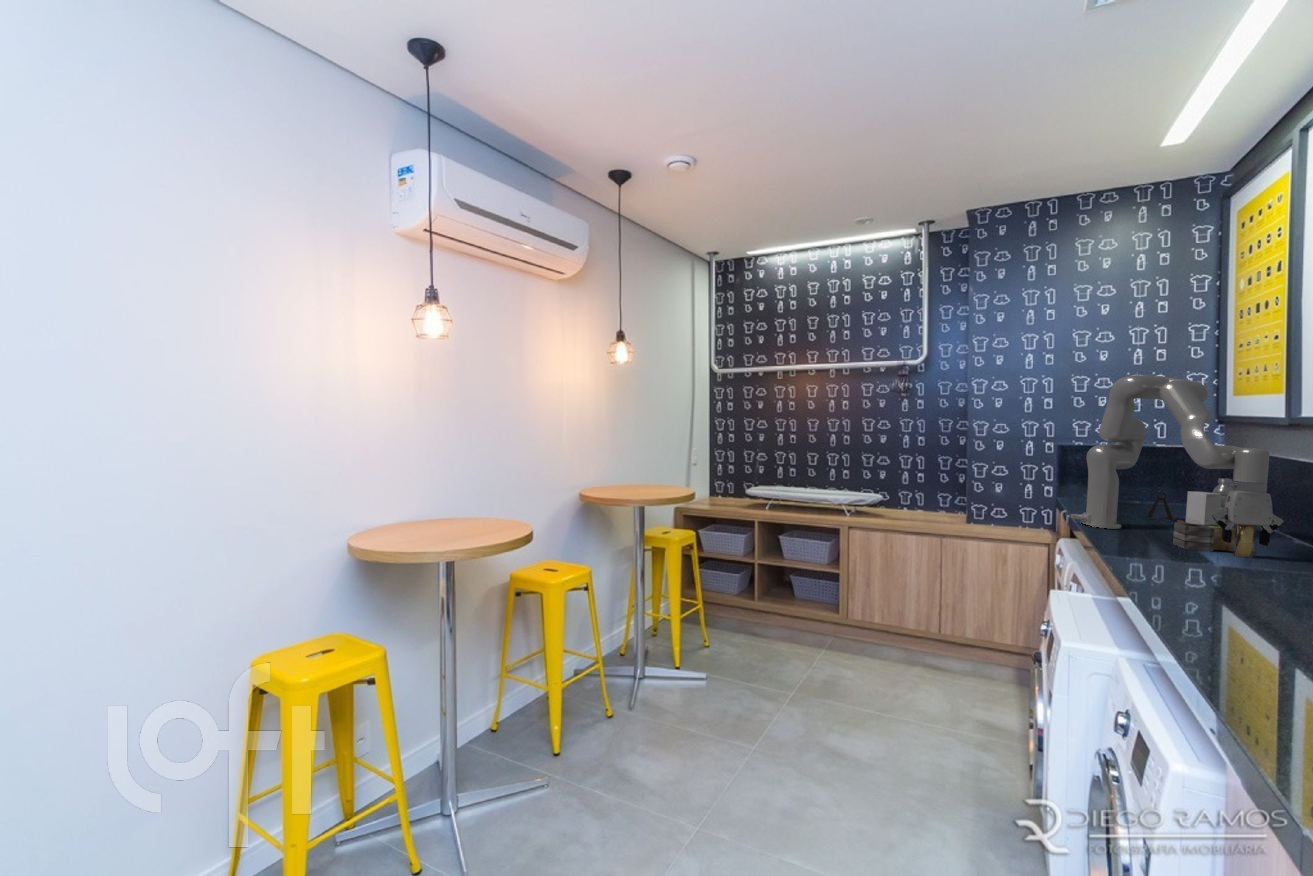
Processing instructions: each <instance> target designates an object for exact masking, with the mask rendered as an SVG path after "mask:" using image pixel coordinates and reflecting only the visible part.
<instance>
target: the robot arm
mask: <svg viewBox="0 0 1313 876" xmlns="http://www.w3.org/2000/svg"><path fill="white" fill-rule="evenodd" d="M1207 398H1208V389H1207V388H1206V386H1205V385H1204V384H1203V383H1201V382H1200V381H1197V380H1196V381H1195V380H1189V379H1182V378H1175V377H1168V376H1158V375H1149V374H1148V375H1146V374H1134V375H1133V374H1132V375H1127V376H1123V377H1120V378H1119V379H1117V380H1116V381H1115V382H1114V383H1113V384H1112V386H1111V387H1110V390H1109V394H1108V399H1107V404H1106V407H1105V410H1104V413H1103V417H1102V420H1101V423H1100V427H1099V431H1098V435H1099V437H1100V438H1101V439H1102V440H1103V441H1106V442H1109V443H1110V442H1111V443H1112V444H1111V443H1110V444H1108V443H1107V444H1106V443H1103V444H1097V445H1094V446H1092V447H1091V448H1090V449H1089V450H1088V451H1087V453H1086V463H1087V465H1086V466H1087V471H1088V473H1087V474H1088V477H1087V493H1086V494H1087V495H1086V512H1083V513H1080V514H1078V513H1071V514H1070V518H1071V519H1072V520H1080V523H1081V522H1082V523H1083V524H1086V525H1090V526H1092V527H1091V528H1096V527H1099V528H1098V529H1104V528H1107V530H1120V529H1122V524H1119V523H1117V517H1118V504H1119V502H1118V501H1119V491H1120V487H1119V486H1120V479H1119V475H1118V472H1117V471H1116V470H1127V469H1131V468H1132V467H1134V466H1135V464H1136V463H1137V462H1138V459H1139V457H1140V454H1141V451H1142V448H1143V444H1144V442H1145V439H1146V436H1147V428H1146V425H1145V423H1144V422H1143V421H1142V420H1141V419H1139V418H1136V417H1133V416H1134V414H1135V411H1136V403H1135V399H1136V400H1138V399H1139V400H1140V399H1141V400H1159V401H1162V403H1163V404H1164V405H1165V406H1166V408H1167V409H1168V410H1169V412H1170V413H1171V415H1172V416H1173V417H1174V419H1175V420H1176V422H1177V423H1178V425H1179V426H1180V439H1181V440H1180V441H1181V444H1182V446H1183V448H1184V450H1185V451H1186V453H1187V455H1189V457H1190V458H1191V460H1192V461H1193V462H1194V463H1195V464H1196V465H1198V466H1199V467H1201V468H1204V469H1211V470H1232V469H1233V475H1232V483H1228V484H1227V487H1231V488H1232V491H1229V494H1228V497H1227V500H1226V504H1225V509H1224V510H1222V511H1220V512H1217V513H1215V514H1213V515H1212V517H1213V519H1214V520H1215V521H1216V523H1217V524H1218V525H1219V526H1220V527H1221V528H1222V539H1223V541H1224V542H1227V543H1231V538H1232V531H1231V530H1230V528H1231V527H1232V526H1233V525H1234V526H1235V525H1237V524H1243V525H1256V526H1258V527H1260V529H1261V531H1259V538H1258V544H1259V545H1262V546H1265V547H1268V546H1269V543H1270V542H1271V541H1270V540H1271V534H1272V533H1273V531H1275V530H1277V529H1278V528H1279V526H1281V525H1282V524H1283V523H1284V520H1283V519H1282V518H1280V517H1279V516H1277V515H1275V514H1274V513H1273V502H1272V497H1271V493H1267V491H1268V478H1269V467H1270V466H1269V465H1270V451H1269V450H1268V449H1265V448H1259V447H1240V446H1239V447H1238V446H1237V445H1236V446H1235V445H1222V444H1220V445H1216V444H1215V445H1214V443H1213V442H1212V441H1211V439H1210V438H1209V437H1208V435H1207V433H1206V432H1205V424H1206V423H1208V422H1210V420H1211V419H1212V413H1211V411H1210V410H1209V409H1208V408H1207V406H1206V405H1205V404H1204V402H1205V401H1206V399H1207ZM1113 443H1115V444H1113ZM1222 516H1224V519H1225V520H1226V521H1225V522H1223V521H1222V520H1221V519H1220V517H1222ZM1090 526H1089V527H1090ZM1234 526H1233V527H1234ZM1256 526H1255V527H1256Z"/></svg>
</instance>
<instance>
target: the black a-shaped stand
mask: <svg viewBox="0 0 1313 876" xmlns="http://www.w3.org/2000/svg"><path fill="white" fill-rule="evenodd" d="M1161 492H1162V494H1164V496H1160V495H1159V494H1160V493H1161ZM1167 494H1168V493H1167V492H1166V491H1165V490H1163V491H1162V490H1158V491H1157V493H1156V498H1155V500H1154V503H1153V504H1152V505H1151V507H1150V509H1149V511H1148V513H1147V515H1146V517H1149V518H1152V517H1154V516H1153V515H1154V513H1155V510H1156V508H1157V506H1158V504H1159V502H1160V501H1163V505H1164V509H1165V514H1166V517H1167V518H1165V517H1160V518H1161V519H1162V518H1163V519H1167V520H1171V521H1174V522H1175V517H1174V515H1173V512H1172V510H1171V508H1170V504H1169V502H1168V500H1167ZM1146 517H1145V518H1146Z"/></svg>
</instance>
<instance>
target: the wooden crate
mask: <svg viewBox="0 0 1313 876" xmlns="http://www.w3.org/2000/svg"><path fill="white" fill-rule="evenodd" d="M1208 527H1211V528H1214V529H1215V532H1214V536H1202V535H1190V534H1183V533H1181V532H1178V531H1176V530H1173V537H1176V538H1179V539H1181V540H1184V541H1192V542H1205V543H1212V544H1214V545H1213V550H1216V551H1218V550H1219V551H1227V552H1234V553H1235V546H1236V534H1237V528H1234V527H1233V528H1230V530H1231V531H1232V538H1231V543H1227V542H1224V541H1223V539H1222V528H1221V527H1213V526H1208Z"/></svg>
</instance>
